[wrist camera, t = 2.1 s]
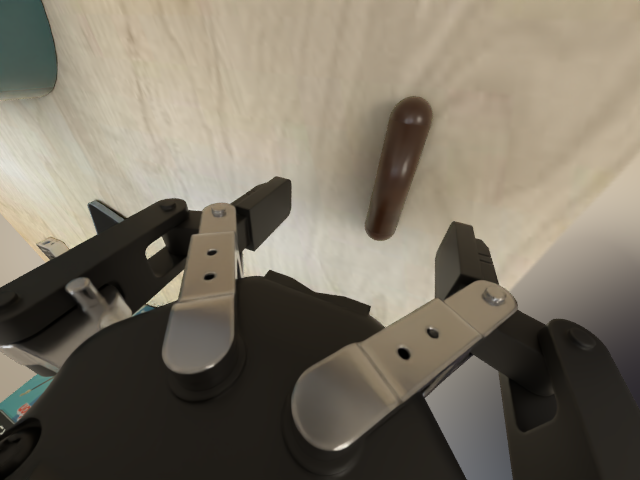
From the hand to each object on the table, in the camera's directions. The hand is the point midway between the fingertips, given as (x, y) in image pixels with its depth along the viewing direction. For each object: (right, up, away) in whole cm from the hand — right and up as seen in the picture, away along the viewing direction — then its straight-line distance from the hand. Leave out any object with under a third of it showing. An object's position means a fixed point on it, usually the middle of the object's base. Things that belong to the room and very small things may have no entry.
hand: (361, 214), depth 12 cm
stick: (+2, +3, +4) cm, 6 cm away
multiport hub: (-54, -5, +39) cm, 67 cm away
